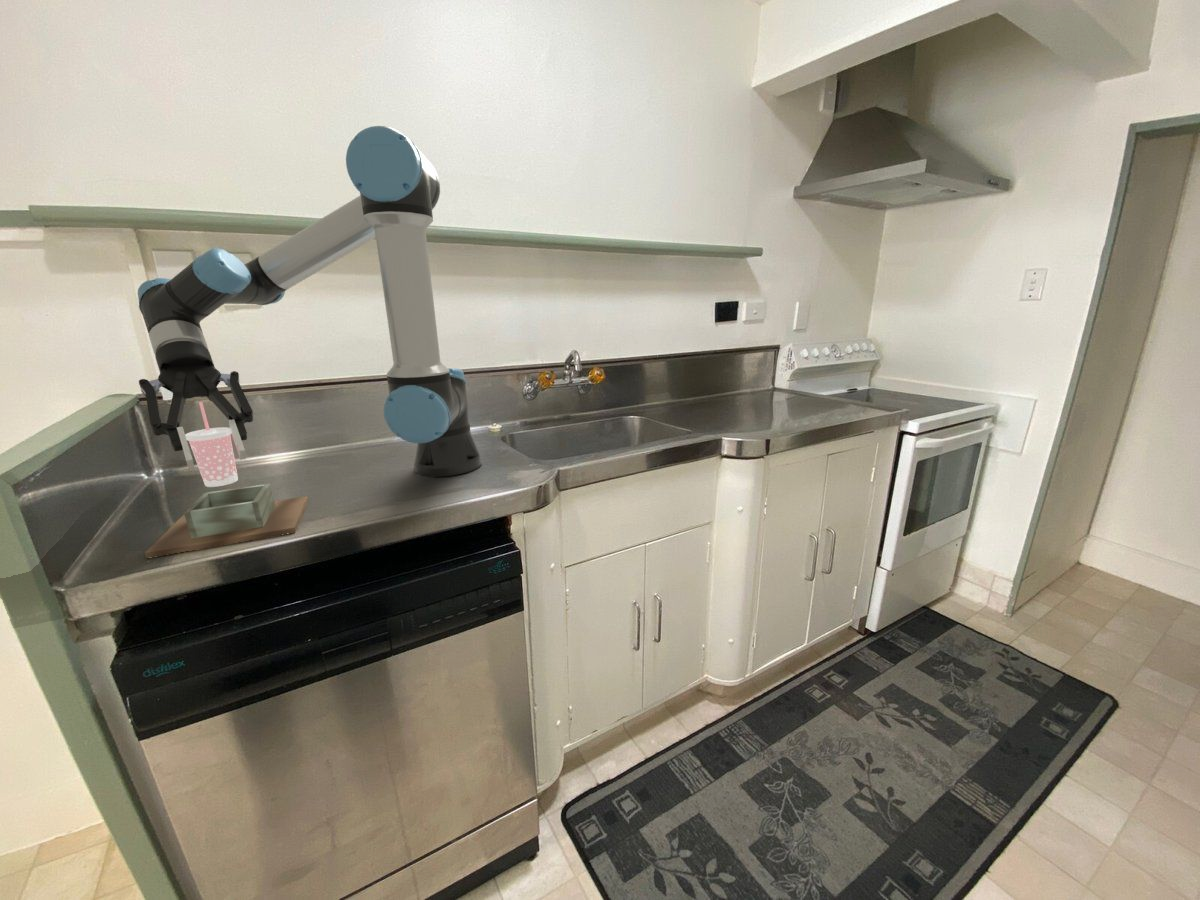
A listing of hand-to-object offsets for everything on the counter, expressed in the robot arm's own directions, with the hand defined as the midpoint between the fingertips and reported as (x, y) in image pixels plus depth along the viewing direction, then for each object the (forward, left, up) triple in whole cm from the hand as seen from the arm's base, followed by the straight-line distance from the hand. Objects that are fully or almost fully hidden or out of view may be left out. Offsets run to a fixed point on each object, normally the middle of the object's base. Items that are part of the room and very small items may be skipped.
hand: (217, 459), depth 79 cm
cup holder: (+1, -3, -13) cm, 14 cm away
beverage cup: (+1, -3, -5) cm, 6 cm away
